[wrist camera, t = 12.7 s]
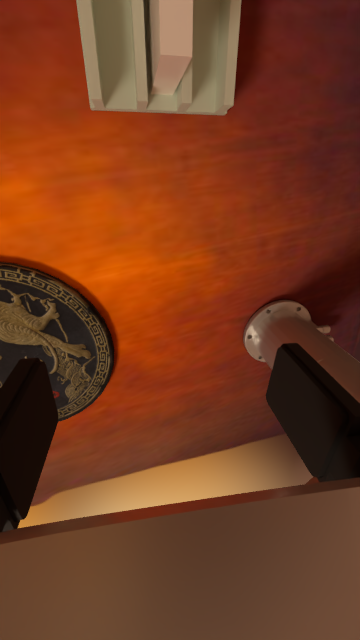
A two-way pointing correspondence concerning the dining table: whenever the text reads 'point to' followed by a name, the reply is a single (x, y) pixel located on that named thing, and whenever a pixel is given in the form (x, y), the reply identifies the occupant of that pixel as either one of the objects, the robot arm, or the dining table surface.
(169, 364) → the dining table surface
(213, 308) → the dining table surface
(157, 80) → the tall tan prism
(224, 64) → the dish rack
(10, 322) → the decorative plate
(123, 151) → the dining table surface
